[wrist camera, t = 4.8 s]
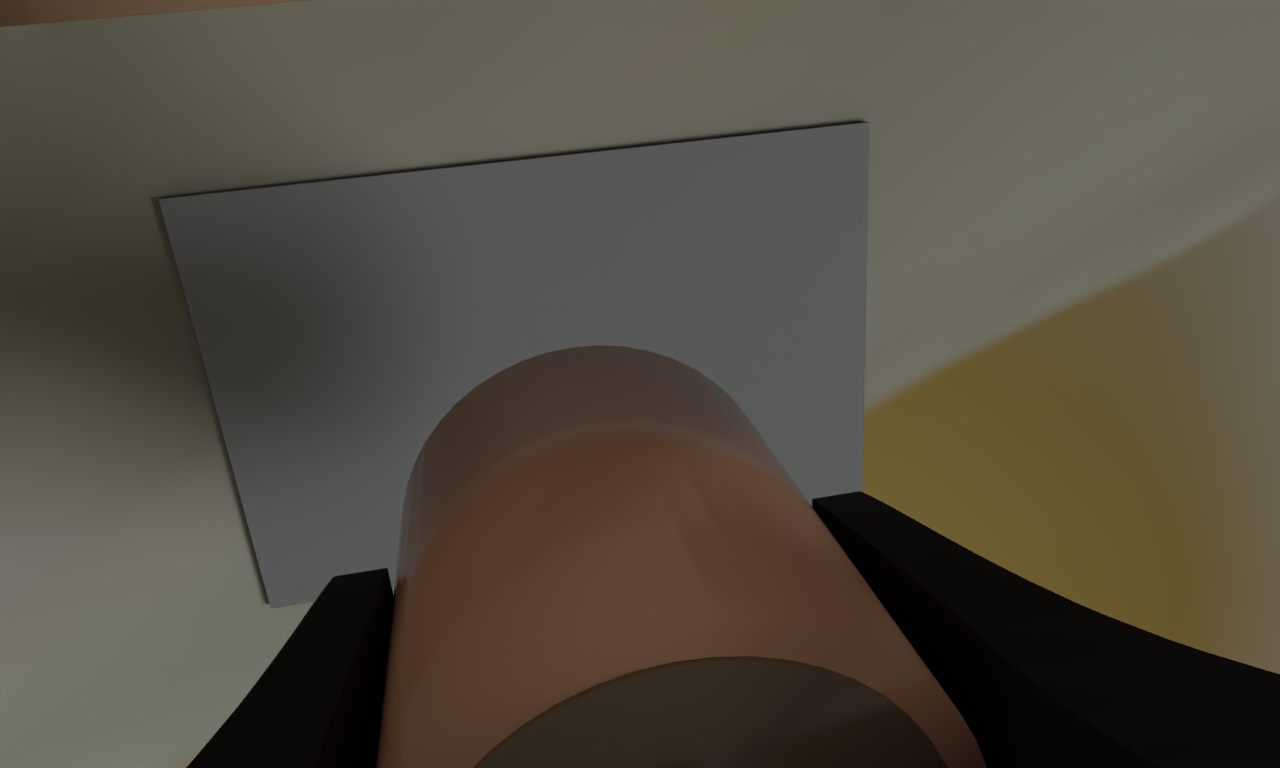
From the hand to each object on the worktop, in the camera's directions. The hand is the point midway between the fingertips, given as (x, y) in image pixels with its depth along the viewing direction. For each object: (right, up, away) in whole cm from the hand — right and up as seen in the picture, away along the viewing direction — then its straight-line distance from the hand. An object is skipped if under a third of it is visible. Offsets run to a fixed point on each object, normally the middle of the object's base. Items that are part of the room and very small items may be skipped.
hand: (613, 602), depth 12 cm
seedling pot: (0, +1, +1) cm, 2 cm away
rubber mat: (-1, +3, +7) cm, 7 cm away
